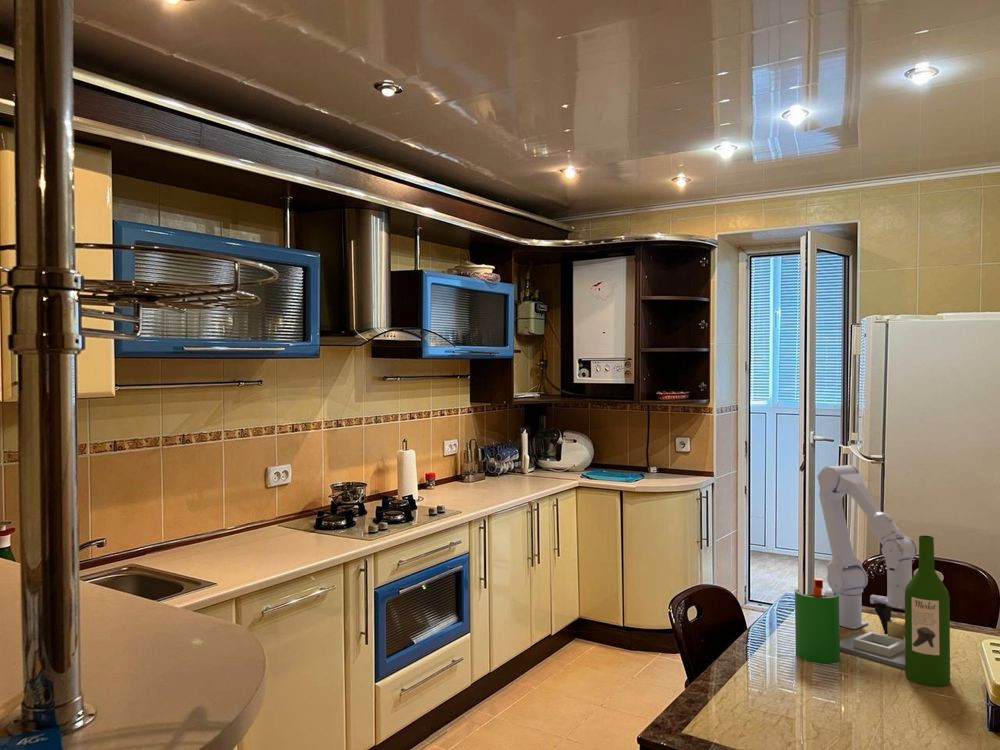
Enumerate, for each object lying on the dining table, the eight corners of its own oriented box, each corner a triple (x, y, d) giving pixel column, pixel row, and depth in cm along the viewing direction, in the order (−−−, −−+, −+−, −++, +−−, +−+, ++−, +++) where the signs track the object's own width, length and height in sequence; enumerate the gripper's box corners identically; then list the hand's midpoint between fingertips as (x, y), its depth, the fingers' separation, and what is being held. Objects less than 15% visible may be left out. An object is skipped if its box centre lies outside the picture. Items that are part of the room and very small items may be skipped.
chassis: (831, 648, 193) (831, 636, 193) (858, 636, 202) (858, 625, 202) (904, 669, 179) (904, 656, 179) (930, 655, 188) (930, 643, 188)
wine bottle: (905, 682, 171) (904, 538, 171) (905, 669, 179) (904, 531, 179) (951, 690, 167) (950, 542, 167) (949, 675, 175) (947, 534, 175)
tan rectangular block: (887, 642, 197) (887, 621, 197) (896, 638, 200) (896, 617, 200) (903, 646, 194) (903, 625, 194) (912, 642, 197) (912, 621, 197)
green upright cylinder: (833, 650, 191) (832, 571, 192) (846, 664, 183) (845, 581, 183) (792, 649, 192) (791, 570, 193) (802, 662, 184) (801, 580, 184)
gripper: (864, 581, 201) (864, 632, 201) (922, 593, 189) (922, 647, 189) (877, 576, 205) (877, 627, 205) (934, 588, 194) (934, 641, 193)
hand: (900, 636), depth 197 cm, fingers open, 6 cm apart
